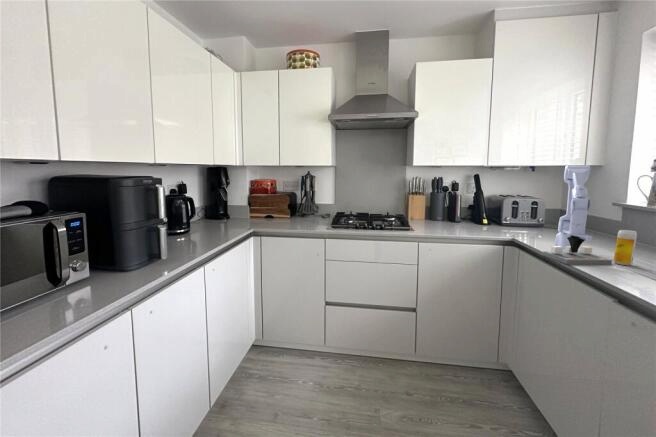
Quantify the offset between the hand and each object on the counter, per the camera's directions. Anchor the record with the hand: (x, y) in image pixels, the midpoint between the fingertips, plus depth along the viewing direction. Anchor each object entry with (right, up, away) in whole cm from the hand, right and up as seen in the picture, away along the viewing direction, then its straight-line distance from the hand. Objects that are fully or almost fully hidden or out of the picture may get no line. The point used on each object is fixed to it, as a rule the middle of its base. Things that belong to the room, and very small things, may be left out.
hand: (574, 252), depth 144 cm
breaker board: (0, -3, -1) cm, 3 cm away
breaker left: (-7, 0, +2) cm, 7 cm away
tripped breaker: (0, 0, +2) cm, 2 cm away
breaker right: (+7, 0, +2) cm, 7 cm away
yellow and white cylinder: (+16, -5, -7) cm, 18 cm away
